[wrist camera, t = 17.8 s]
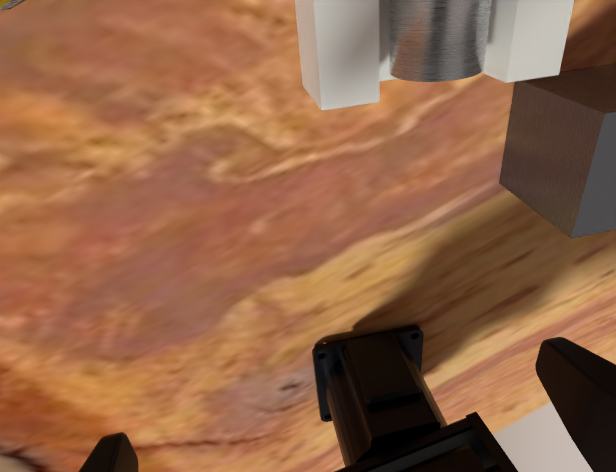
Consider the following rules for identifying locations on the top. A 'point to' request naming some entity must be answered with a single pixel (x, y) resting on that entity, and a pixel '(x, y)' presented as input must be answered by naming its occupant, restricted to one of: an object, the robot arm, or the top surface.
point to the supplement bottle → (9, 4)
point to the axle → (438, 39)
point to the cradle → (376, 45)
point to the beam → (565, 149)
